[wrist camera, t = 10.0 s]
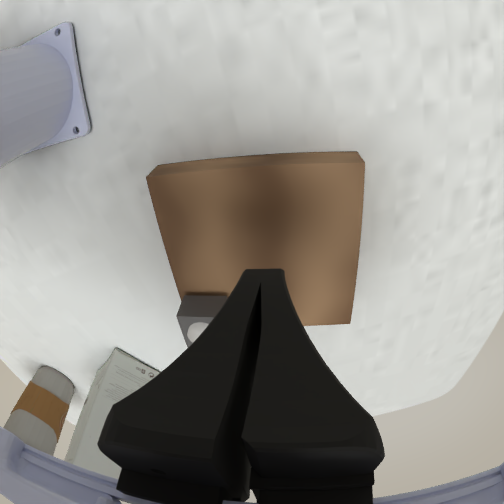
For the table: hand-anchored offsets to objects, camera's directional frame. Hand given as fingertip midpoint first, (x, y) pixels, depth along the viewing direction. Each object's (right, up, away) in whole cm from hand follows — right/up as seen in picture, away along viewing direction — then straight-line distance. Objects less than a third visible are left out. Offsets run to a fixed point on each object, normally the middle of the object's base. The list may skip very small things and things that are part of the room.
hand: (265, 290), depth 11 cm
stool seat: (+1, -2, +13) cm, 13 cm away
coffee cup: (-29, -17, +27) cm, 43 cm away
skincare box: (-15, -12, +22) cm, 29 cm away
